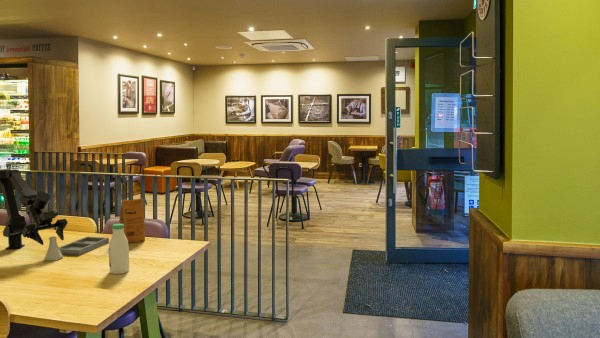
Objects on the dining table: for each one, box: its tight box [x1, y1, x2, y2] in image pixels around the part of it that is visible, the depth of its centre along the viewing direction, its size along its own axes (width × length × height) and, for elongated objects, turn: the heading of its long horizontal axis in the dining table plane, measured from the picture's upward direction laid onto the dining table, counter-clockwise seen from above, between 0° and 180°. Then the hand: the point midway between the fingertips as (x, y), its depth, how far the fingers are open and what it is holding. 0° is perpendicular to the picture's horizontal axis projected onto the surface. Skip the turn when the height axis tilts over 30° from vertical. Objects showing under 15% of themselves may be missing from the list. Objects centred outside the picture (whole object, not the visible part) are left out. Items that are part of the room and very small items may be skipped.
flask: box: [44, 236, 64, 262], centre depth 217 cm, size 7×7×10 cm
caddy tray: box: [58, 236, 110, 256], centre depth 235 cm, size 12×24×2 cm, turn 169°
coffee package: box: [118, 197, 146, 244], centre depth 249 cm, size 10×12×22 cm
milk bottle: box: [108, 223, 130, 275], centre depth 199 cm, size 8×8×20 cm
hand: (53, 242), depth 216 cm, fingers open, 9 cm apart
